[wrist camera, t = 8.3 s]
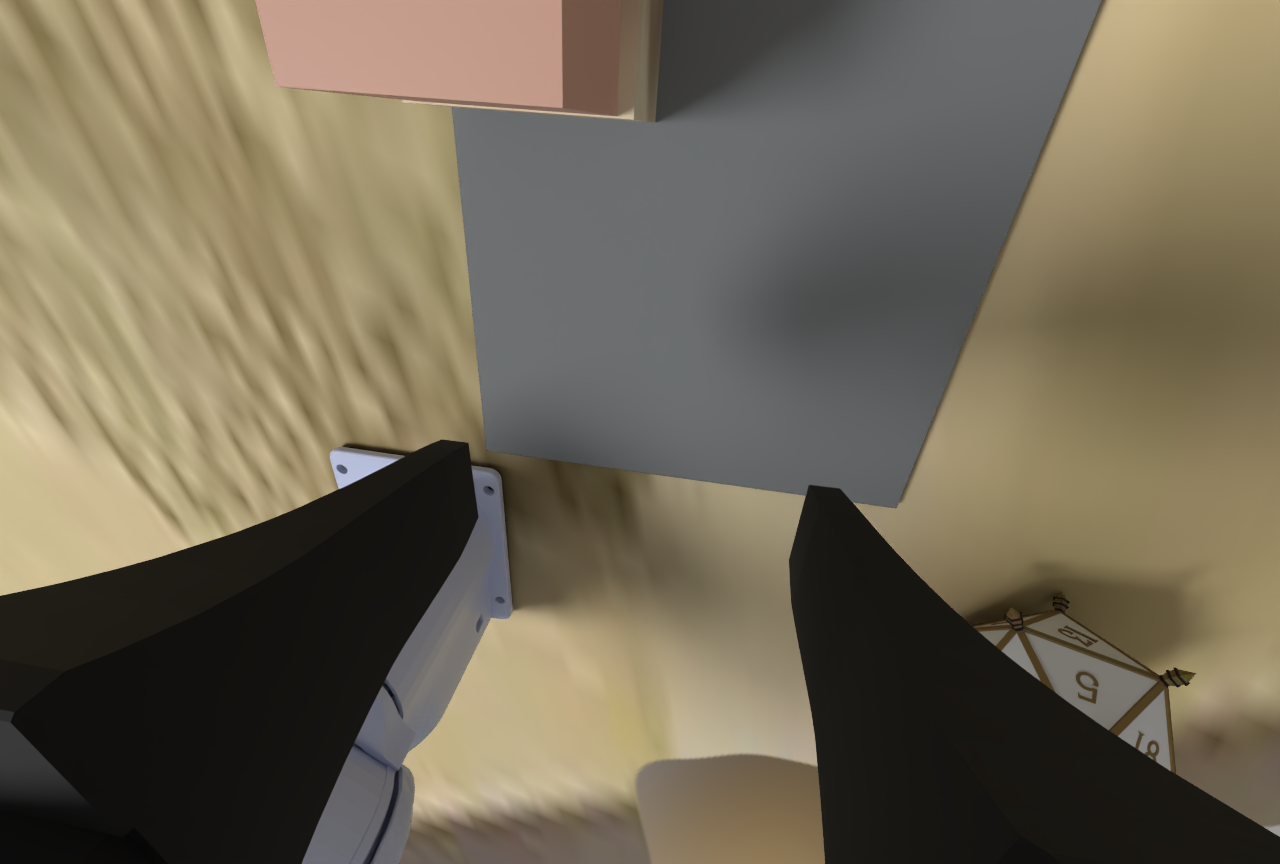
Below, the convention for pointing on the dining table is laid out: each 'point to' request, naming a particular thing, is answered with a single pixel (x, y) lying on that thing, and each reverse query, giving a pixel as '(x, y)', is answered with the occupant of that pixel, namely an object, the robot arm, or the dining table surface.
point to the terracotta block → (451, 51)
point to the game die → (1092, 676)
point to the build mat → (760, 239)
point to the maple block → (623, 66)
